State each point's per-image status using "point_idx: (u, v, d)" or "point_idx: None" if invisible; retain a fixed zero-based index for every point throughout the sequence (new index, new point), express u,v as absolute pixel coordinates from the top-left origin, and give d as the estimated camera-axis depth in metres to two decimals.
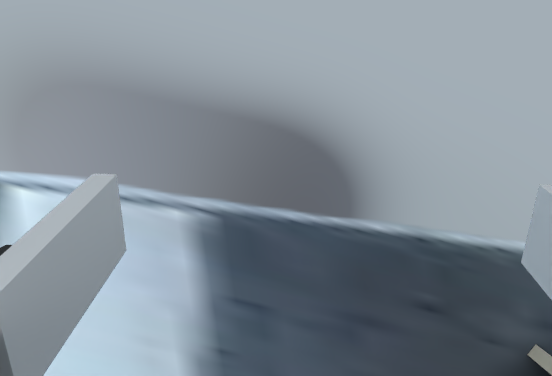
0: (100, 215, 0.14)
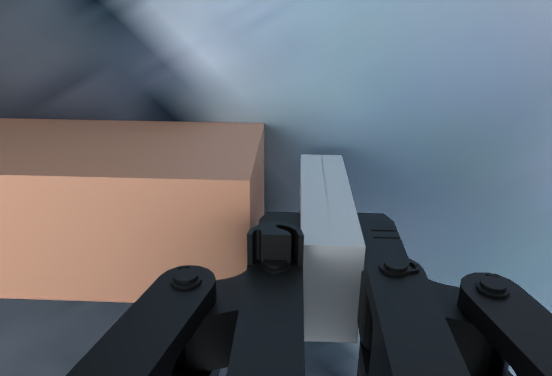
0: None
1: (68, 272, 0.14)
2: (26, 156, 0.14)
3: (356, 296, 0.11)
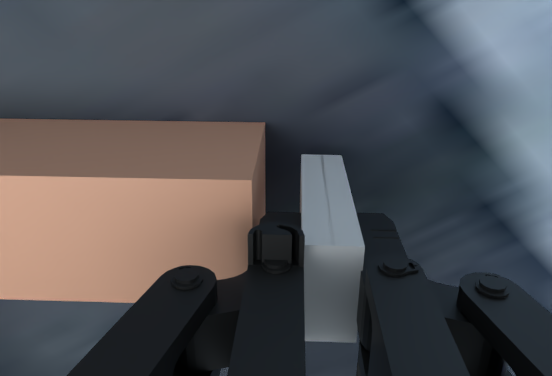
0: None
1: (70, 272, 0.14)
2: (27, 156, 0.14)
3: (355, 296, 0.11)
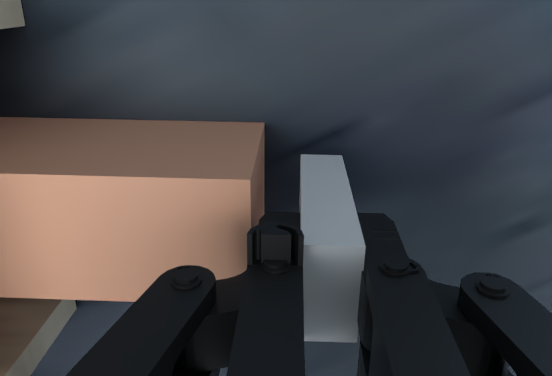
0: None
1: (68, 271, 0.14)
2: (26, 155, 0.14)
3: (356, 296, 0.11)
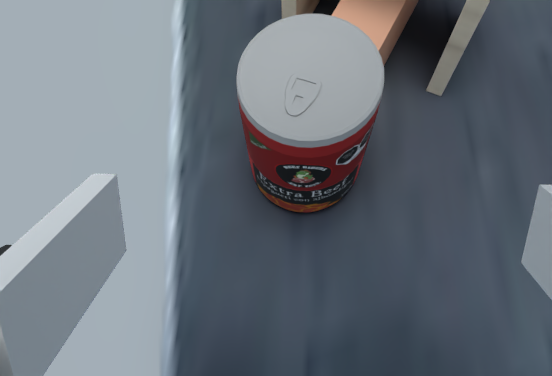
0: (100, 215, 0.14)
1: None
2: None
3: None
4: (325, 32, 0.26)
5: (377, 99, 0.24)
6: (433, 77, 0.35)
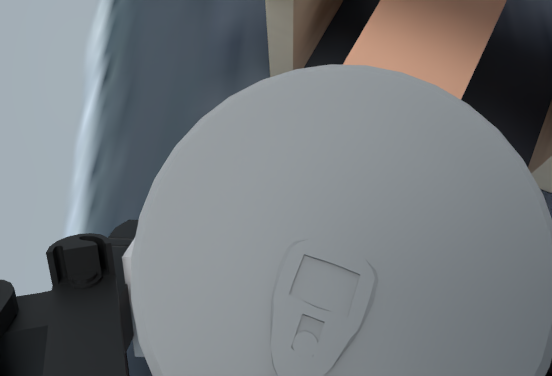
0: None
1: None
2: None
3: None
4: (377, 114, 0.10)
5: None
6: (545, 164, 0.19)
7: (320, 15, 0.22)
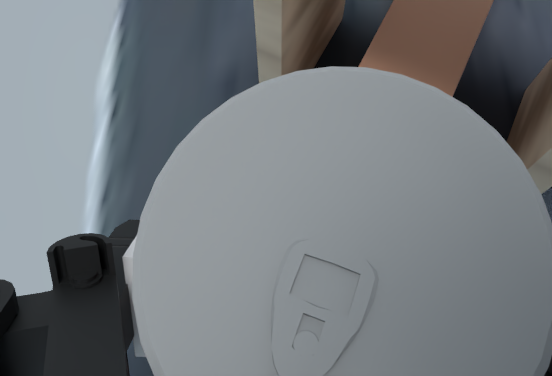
0: None
1: None
2: None
3: None
4: (377, 116, 0.10)
5: None
6: None
7: (305, 62, 0.25)
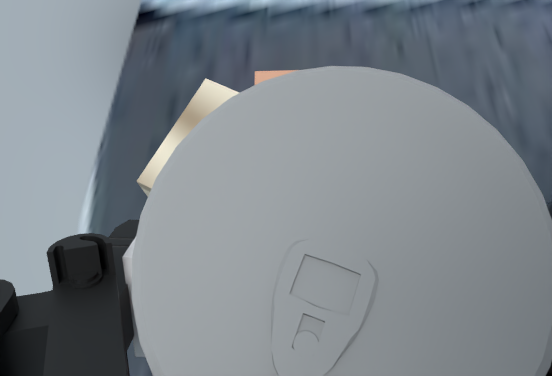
0: None
1: None
2: None
3: None
4: (378, 115, 0.10)
5: None
6: None
7: None
